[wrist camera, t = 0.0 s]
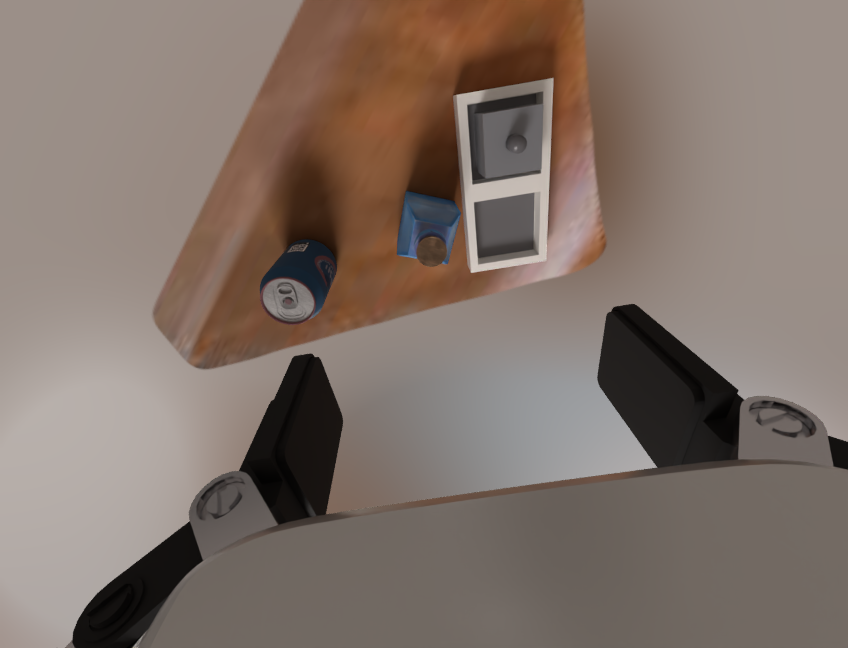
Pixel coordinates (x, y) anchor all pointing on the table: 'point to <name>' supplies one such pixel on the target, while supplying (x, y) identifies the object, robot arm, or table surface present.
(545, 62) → the table surface
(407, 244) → the perfume bottle
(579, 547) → the robot arm
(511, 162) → the charcoal plug block
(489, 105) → the socket strip
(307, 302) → the soda can
